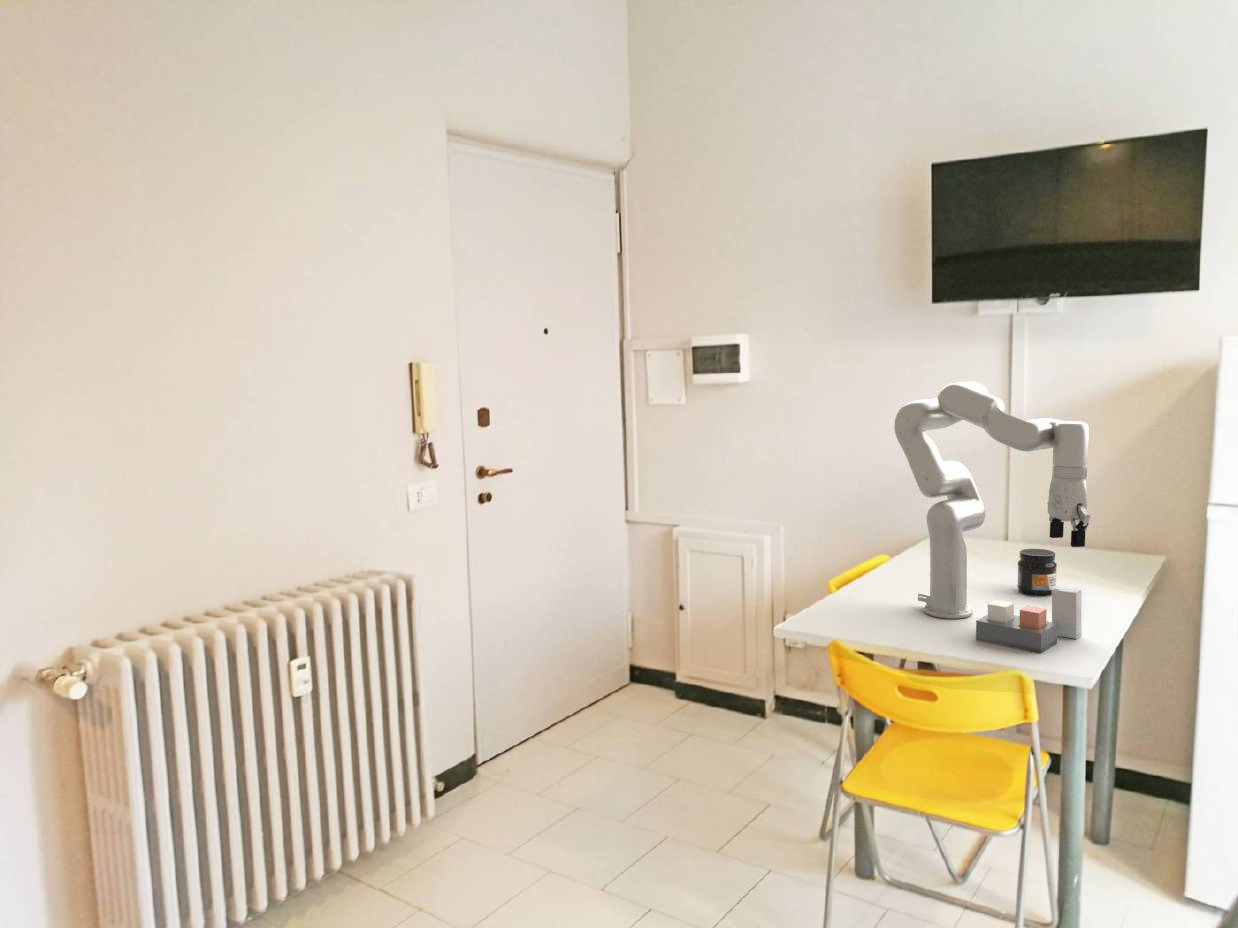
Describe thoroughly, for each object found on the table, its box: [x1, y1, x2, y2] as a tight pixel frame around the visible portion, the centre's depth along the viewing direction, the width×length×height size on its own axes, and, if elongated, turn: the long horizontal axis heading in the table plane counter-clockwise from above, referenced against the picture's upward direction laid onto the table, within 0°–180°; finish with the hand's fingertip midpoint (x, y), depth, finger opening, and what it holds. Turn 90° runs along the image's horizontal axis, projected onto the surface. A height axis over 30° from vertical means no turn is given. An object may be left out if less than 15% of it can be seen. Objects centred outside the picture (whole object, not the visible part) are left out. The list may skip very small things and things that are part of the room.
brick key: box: [1019, 605, 1047, 630], centre depth 225 cm, size 5×5×4 cm
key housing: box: [975, 614, 1058, 654], centre depth 229 cm, size 16×10×5 cm, turn 44°
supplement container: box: [1016, 548, 1058, 597], centre depth 270 cm, size 10×10×12 cm
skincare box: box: [1051, 585, 1083, 640], centre depth 231 cm, size 6×4×12 cm
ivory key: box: [987, 599, 1015, 623], centre depth 231 cm, size 5×5×4 cm
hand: (1066, 541), depth 223 cm, fingers open, 9 cm apart
